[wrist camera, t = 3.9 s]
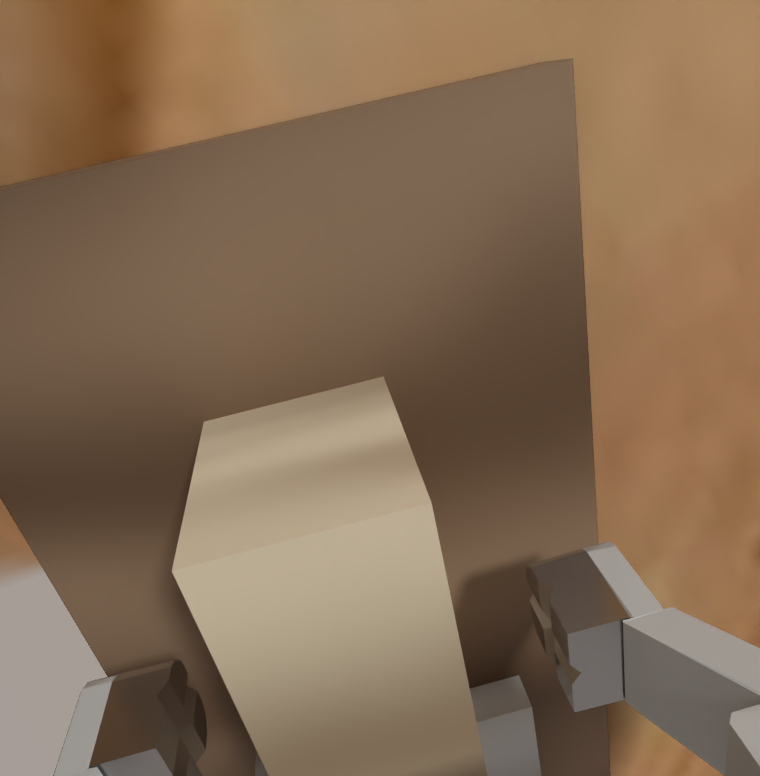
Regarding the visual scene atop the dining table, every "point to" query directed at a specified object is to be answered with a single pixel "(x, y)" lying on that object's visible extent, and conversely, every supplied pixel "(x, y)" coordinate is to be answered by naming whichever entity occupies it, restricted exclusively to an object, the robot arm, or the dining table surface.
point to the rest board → (311, 359)
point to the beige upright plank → (337, 598)
